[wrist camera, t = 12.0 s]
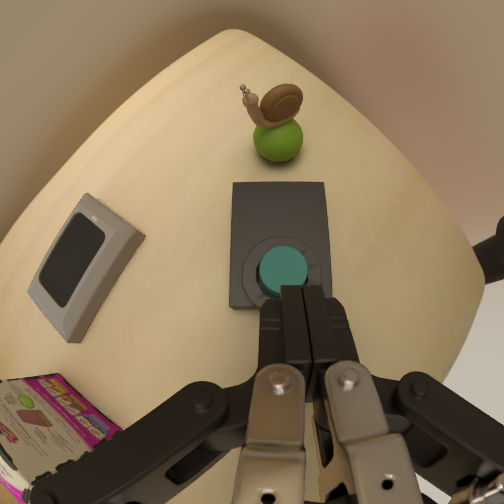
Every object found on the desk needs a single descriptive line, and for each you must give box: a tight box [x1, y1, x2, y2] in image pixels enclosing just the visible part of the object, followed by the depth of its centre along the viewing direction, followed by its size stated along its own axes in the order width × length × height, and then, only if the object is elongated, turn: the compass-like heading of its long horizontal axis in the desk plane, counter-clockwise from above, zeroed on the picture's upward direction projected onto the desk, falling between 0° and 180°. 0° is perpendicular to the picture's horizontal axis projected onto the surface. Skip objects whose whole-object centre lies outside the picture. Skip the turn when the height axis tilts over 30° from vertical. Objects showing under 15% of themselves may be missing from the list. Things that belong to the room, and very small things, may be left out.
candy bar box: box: [0, 373, 123, 504], centre depth 17 cm, size 11×5×16 cm, turn 61°
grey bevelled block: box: [27, 193, 145, 343], centre depth 27 cm, size 10×4×15 cm
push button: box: [259, 246, 308, 297], centre depth 22 cm, size 4×4×3 cm
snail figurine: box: [240, 84, 303, 162], centre depth 26 cm, size 5×6×12 cm
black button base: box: [229, 182, 332, 309], centre depth 26 cm, size 13×9×5 cm
